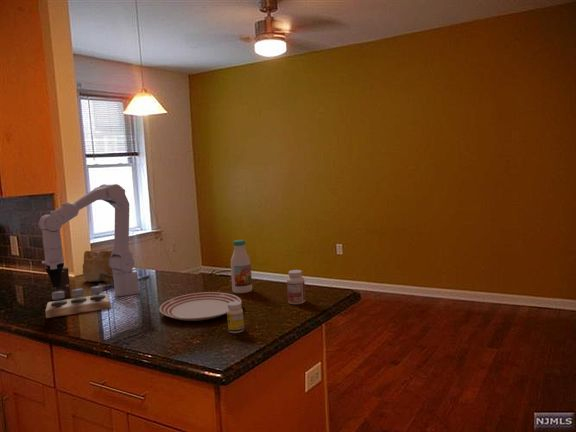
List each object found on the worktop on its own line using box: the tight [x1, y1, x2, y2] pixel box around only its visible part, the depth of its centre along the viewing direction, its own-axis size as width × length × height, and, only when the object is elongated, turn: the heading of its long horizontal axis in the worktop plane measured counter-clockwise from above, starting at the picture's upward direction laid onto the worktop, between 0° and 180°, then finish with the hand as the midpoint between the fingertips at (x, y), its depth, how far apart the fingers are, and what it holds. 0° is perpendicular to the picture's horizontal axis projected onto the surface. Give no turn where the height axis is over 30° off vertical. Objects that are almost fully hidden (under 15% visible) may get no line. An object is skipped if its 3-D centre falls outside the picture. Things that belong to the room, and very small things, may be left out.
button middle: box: [71, 287, 85, 298], centre depth 173 cm, size 4×4×2 cm
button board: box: [44, 293, 112, 319], centre depth 172 cm, size 21×12×3 cm, turn 113°
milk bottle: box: [230, 239, 253, 294], centre depth 183 cm, size 8×8×20 cm
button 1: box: [51, 291, 65, 301], centre depth 170 cm, size 4×4×2 cm
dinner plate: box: [158, 291, 242, 322], centre depth 161 cm, size 28×27×3 cm
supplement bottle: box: [226, 301, 245, 334], centre depth 140 cm, size 5×5×8 cm
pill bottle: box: [286, 269, 306, 305], centre depth 165 cm, size 6×6×11 cm
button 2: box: [90, 285, 104, 295], centre depth 175 cm, size 4×4×2 cm
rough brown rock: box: [82, 249, 114, 285], centre depth 213 cm, size 23×17×15 cm
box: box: [51, 266, 72, 300], centre depth 188 cm, size 6×4×12 cm
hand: (57, 285), depth 170 cm, fingers open, 5 cm apart
